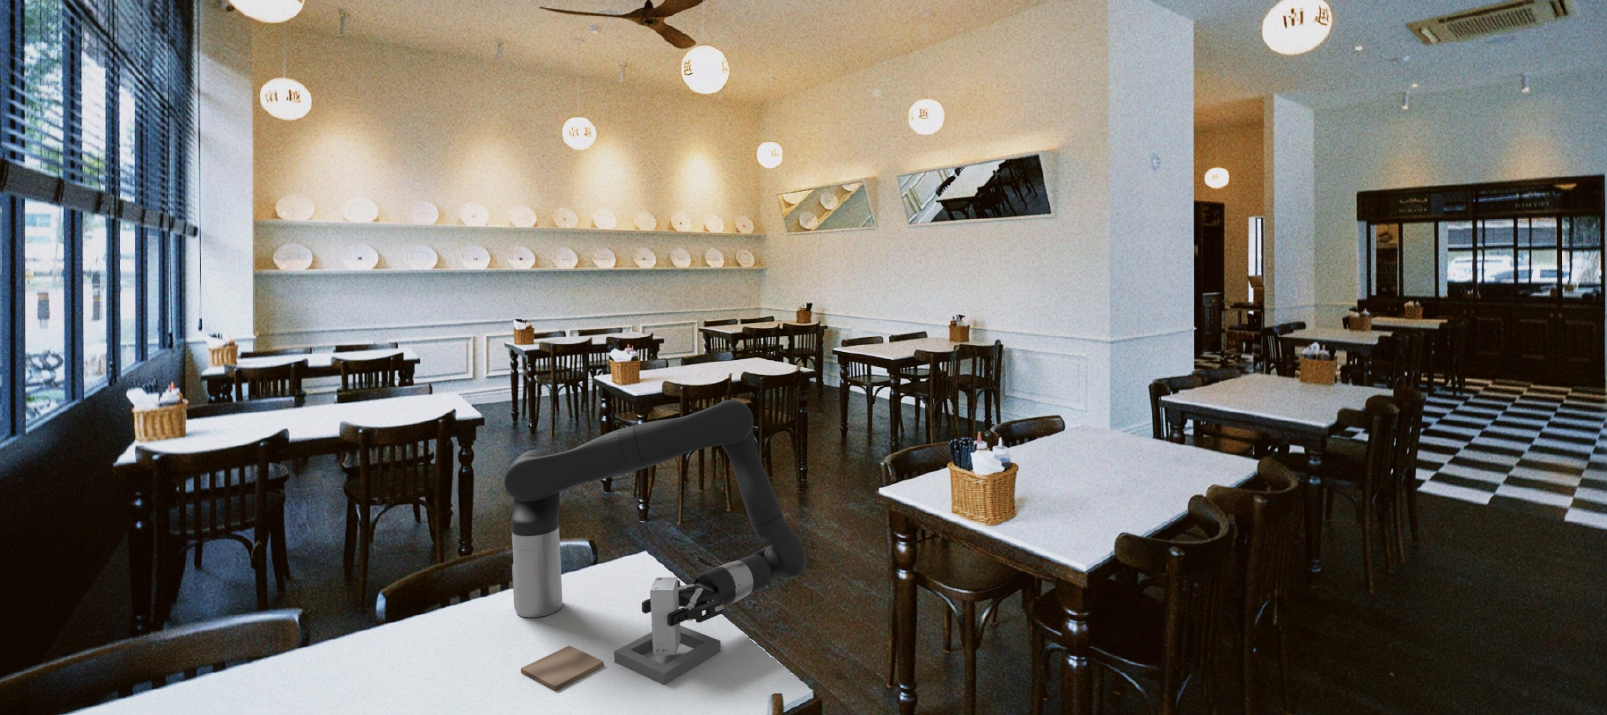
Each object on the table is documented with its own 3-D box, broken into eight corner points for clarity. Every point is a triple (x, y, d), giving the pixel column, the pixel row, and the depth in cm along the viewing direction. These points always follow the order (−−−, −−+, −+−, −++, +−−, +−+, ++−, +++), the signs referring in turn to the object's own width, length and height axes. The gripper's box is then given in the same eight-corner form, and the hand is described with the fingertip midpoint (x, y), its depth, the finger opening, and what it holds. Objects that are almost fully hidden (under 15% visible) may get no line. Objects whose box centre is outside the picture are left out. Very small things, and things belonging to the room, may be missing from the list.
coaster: (521, 672, 130) (520, 668, 130) (569, 649, 138) (569, 645, 138) (555, 690, 124) (555, 686, 124) (603, 665, 132) (603, 661, 132)
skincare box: (676, 655, 132) (674, 590, 130) (651, 656, 131) (649, 590, 130) (681, 638, 138) (679, 576, 136) (657, 639, 138) (655, 576, 136)
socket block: (614, 661, 133) (614, 651, 133) (672, 631, 144) (671, 621, 144) (664, 684, 125) (663, 673, 125) (721, 651, 136) (720, 640, 136)
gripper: (700, 557, 149) (631, 583, 137) (749, 576, 139) (680, 606, 127) (700, 593, 150) (632, 621, 137) (750, 614, 140) (681, 647, 128)
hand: (655, 614), depth 132 cm, fingers closed on skincare box, 7 cm apart
